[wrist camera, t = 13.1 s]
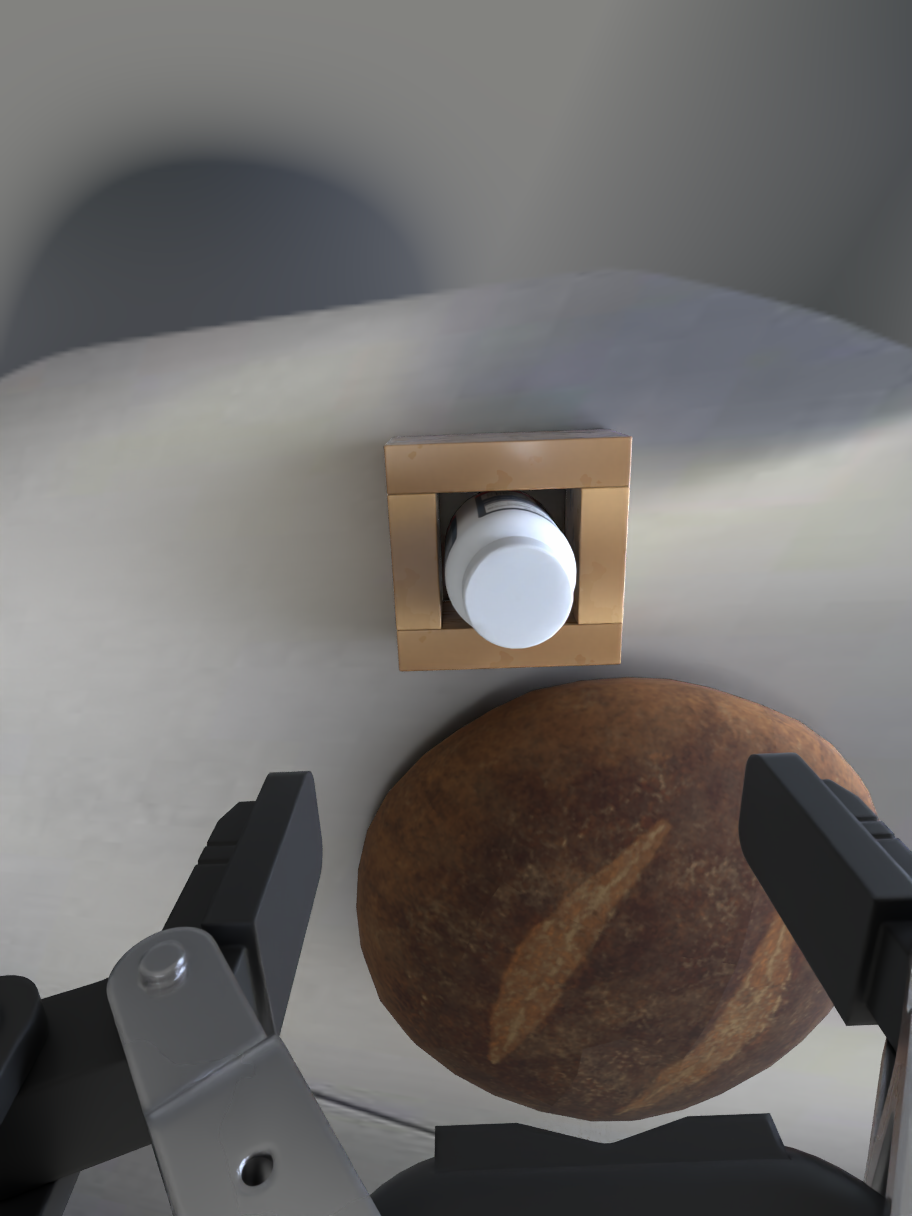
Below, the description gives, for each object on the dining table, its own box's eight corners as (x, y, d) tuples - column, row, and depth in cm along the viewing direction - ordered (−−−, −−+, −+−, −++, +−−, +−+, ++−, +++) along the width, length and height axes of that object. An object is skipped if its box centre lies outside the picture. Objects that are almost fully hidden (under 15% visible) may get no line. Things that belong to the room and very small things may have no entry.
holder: (392, 436, 30) (383, 445, 26) (610, 428, 30) (633, 436, 26) (405, 638, 34) (399, 671, 30) (602, 632, 33) (620, 664, 30)
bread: (956, 771, 36) (1104, 888, 28) (700, 1089, 44) (756, 1252, 36) (484, 570, 32) (493, 637, 24) (300, 960, 41) (261, 1108, 32)
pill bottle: (495, 613, 33) (508, 693, 25) (423, 538, 32) (412, 596, 23) (577, 543, 32) (620, 603, 24) (506, 463, 31) (525, 495, 22)
